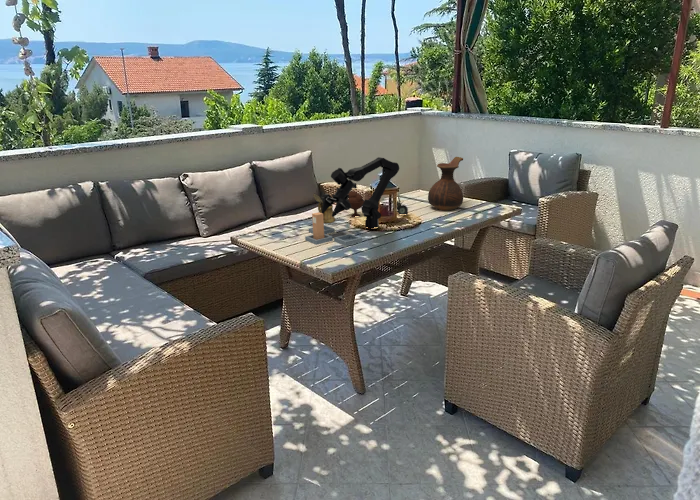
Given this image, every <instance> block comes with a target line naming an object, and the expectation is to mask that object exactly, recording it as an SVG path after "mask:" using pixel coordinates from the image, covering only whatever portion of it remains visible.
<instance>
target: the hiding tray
mask: <svg viewBox="0 0 700 500" xmlns="http://www.w3.org/2000/svg"><path fill="white" fill-rule="evenodd" d="M329 235H330V234H324V238H323V239H318V240H315V239H313V234H310V235H306V236H305V235H304V239H305V241H306V242H308V243H311V244H314V245H316V246H317V245H320V244H325V243H328V242H332V241H333V242H334V239H333V237H332V236H329Z"/></svg>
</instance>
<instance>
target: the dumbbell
mask: <svg viewBox="0 0 700 500" xmlns="http://www.w3.org/2000/svg"><path fill="white" fill-rule="evenodd" d="M397 197H398V198H397V199H396V200H397V207H396V213H397V212H398V213H397V214H398V215H399V214H406V215H408V214H409V209H408V207H407V206H406V205H404V204H403V203H404V201H402V202H401V199H400V197H399V196H397Z"/></svg>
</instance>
